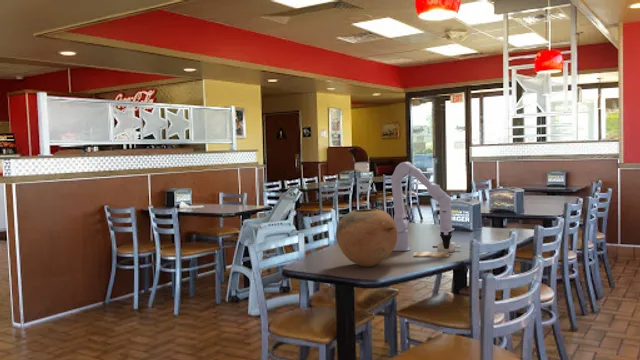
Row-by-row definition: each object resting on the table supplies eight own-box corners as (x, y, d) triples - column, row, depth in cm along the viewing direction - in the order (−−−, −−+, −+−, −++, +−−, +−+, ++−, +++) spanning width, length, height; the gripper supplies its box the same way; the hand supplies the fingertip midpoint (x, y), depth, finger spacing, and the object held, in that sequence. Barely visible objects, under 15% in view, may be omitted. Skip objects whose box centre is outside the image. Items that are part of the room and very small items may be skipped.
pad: (413, 257, 261) (413, 255, 261) (414, 253, 271) (414, 251, 271) (448, 257, 258) (448, 255, 258) (448, 253, 268) (448, 251, 268)
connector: (432, 251, 273) (432, 243, 273) (432, 250, 277) (432, 242, 277) (460, 251, 271) (460, 243, 270) (460, 250, 274) (460, 242, 274)
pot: (320, 266, 248) (318, 210, 246) (361, 256, 266) (359, 204, 265) (375, 276, 225) (373, 214, 224) (415, 264, 244) (413, 207, 243)
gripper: (454, 221, 265) (455, 250, 266) (453, 217, 279) (454, 244, 280) (439, 221, 267) (439, 250, 267) (439, 218, 281) (440, 244, 281)
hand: (446, 247), depth 274 cm, fingers open, 7 cm apart
